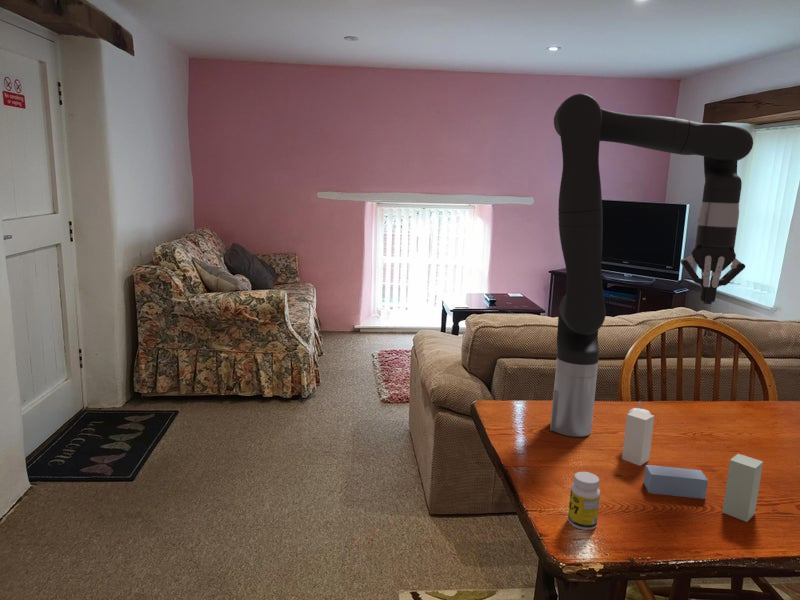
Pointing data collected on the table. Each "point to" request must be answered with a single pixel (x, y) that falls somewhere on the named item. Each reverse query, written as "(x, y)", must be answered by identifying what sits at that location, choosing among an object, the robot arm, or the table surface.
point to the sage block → (742, 487)
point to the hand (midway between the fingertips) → (706, 303)
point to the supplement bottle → (584, 501)
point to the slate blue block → (675, 481)
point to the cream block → (638, 437)
